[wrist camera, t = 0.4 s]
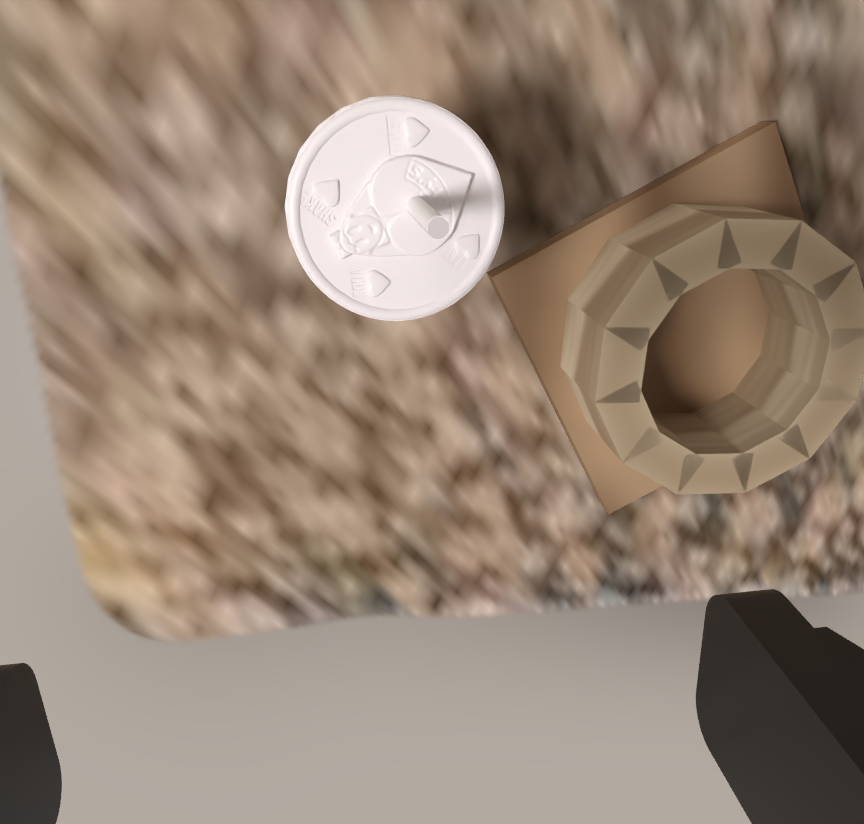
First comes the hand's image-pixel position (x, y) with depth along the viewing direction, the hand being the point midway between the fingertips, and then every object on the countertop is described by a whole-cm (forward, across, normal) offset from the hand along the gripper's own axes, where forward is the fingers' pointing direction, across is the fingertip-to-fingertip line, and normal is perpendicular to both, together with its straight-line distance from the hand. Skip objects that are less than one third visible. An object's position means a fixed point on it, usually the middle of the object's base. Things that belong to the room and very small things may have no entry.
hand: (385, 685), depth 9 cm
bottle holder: (+25, -15, +4) cm, 30 cm away
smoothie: (+25, -1, -3) cm, 26 cm away
